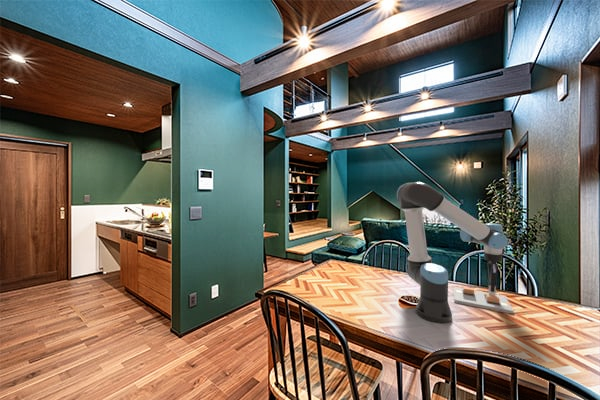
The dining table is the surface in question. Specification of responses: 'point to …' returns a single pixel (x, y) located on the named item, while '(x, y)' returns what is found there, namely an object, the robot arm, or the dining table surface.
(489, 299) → the tab
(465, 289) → the tab
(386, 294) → the dining table surface
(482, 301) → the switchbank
